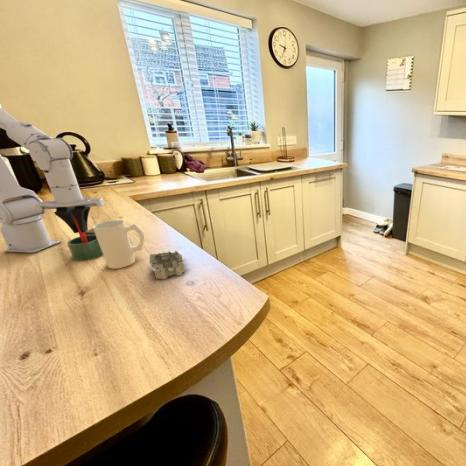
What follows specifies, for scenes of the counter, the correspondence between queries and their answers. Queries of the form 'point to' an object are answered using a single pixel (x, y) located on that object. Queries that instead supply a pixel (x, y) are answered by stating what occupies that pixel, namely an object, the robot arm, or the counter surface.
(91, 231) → the straw holder
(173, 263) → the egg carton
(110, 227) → the mug
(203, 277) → the counter surface
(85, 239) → the straw
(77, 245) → the cup
